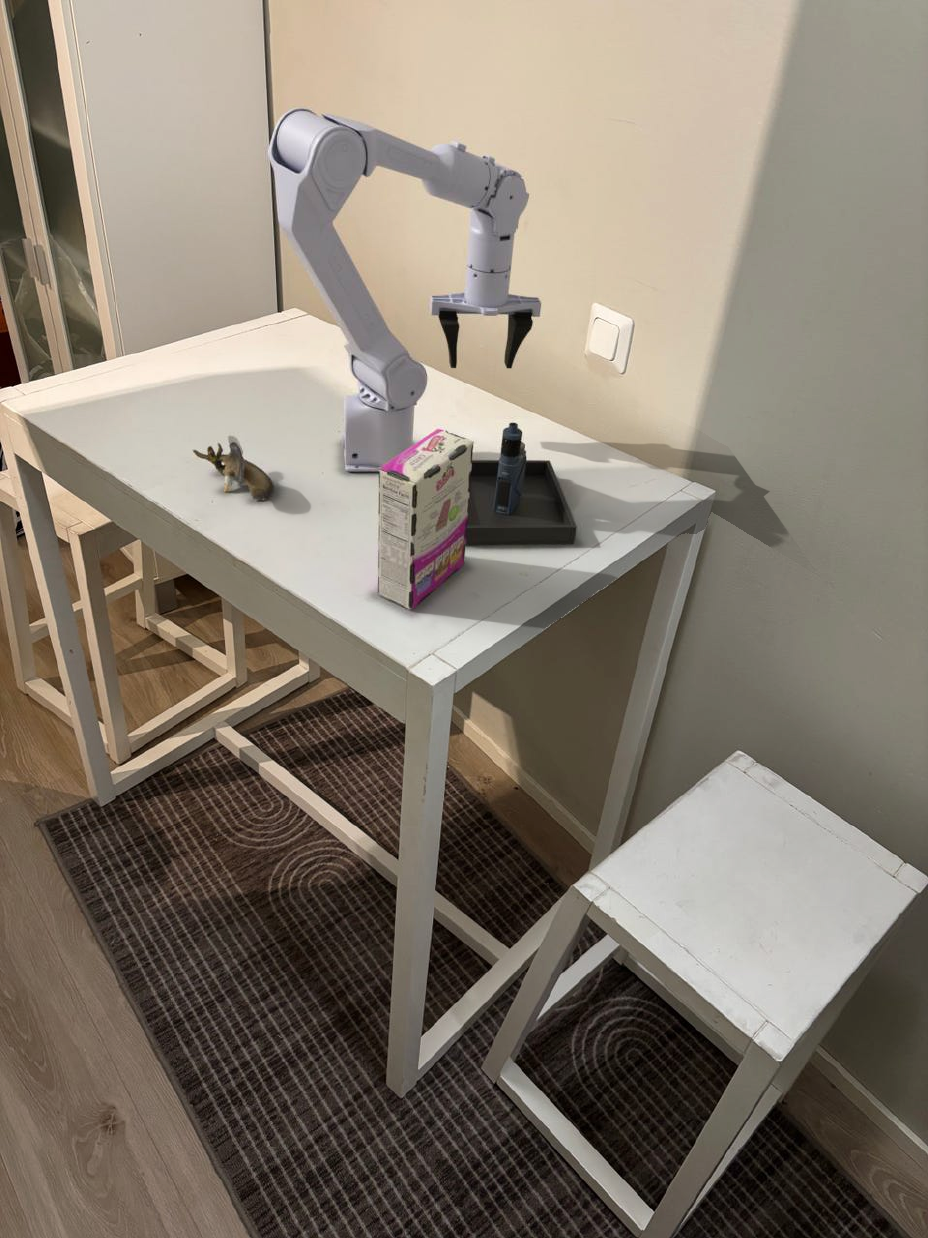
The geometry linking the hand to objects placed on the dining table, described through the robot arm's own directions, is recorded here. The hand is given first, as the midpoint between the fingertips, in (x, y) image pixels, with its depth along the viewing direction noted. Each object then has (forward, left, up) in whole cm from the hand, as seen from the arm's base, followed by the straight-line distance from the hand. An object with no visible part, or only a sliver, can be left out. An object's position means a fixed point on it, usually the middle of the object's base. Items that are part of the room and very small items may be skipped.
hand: (480, 365), depth 132 cm
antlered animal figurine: (-32, -15, -11) cm, 37 cm away
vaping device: (+1, -20, -10) cm, 23 cm away
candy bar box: (-11, -35, -11) cm, 38 cm away
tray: (+1, -20, -10) cm, 23 cm away
